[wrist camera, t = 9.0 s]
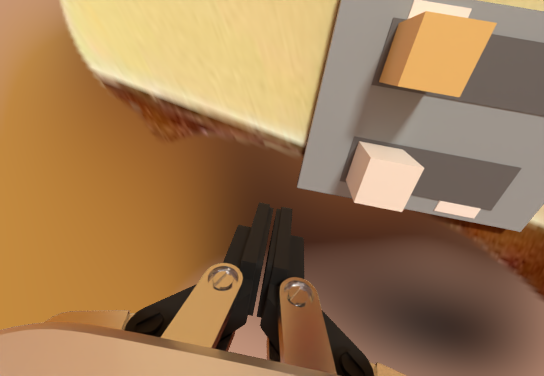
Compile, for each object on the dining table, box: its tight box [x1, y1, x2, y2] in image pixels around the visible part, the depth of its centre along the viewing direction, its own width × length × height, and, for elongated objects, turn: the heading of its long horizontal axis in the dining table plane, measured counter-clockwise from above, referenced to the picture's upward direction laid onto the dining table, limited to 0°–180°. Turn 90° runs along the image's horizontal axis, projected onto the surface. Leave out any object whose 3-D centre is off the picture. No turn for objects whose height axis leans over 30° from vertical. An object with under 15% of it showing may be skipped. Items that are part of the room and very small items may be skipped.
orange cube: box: [379, 11, 497, 97], centre depth 16 cm, size 4×4×4 cm
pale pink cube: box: [346, 141, 424, 212], centre depth 21 cm, size 4×4×4 cm
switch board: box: [297, 0, 544, 232], centre depth 21 cm, size 23×17×1 cm
